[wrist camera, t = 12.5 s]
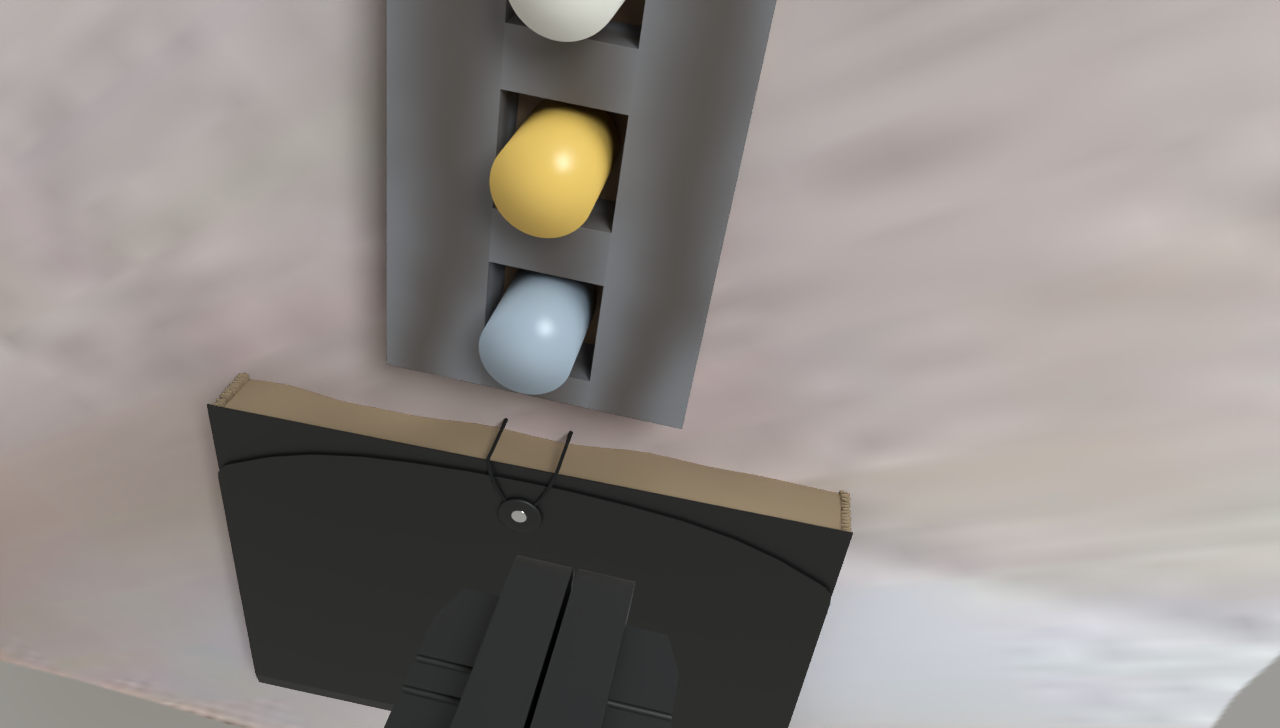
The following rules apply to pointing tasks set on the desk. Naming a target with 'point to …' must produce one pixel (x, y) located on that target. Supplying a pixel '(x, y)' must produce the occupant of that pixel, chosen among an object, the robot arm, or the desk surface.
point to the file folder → (509, 546)
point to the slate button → (537, 331)
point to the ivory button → (566, 17)
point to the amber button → (554, 168)
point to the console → (624, 212)
